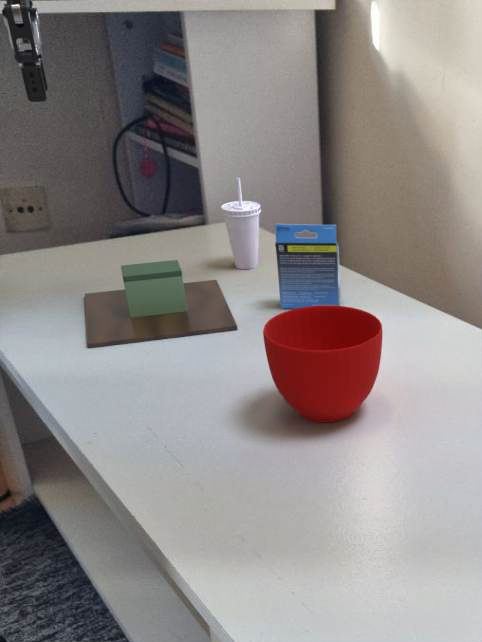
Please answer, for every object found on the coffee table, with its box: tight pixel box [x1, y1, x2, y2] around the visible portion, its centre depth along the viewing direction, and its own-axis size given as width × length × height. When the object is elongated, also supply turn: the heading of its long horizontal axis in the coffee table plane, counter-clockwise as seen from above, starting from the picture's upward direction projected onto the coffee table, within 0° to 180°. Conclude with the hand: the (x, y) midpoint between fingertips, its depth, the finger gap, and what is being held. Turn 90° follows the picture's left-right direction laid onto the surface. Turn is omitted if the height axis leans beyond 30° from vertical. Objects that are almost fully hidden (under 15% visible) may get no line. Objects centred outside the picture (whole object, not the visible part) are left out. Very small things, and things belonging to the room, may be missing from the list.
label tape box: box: [274, 223, 342, 310], centre depth 116 cm, size 9×4×12 cm, turn 89°
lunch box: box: [120, 259, 187, 318], centre depth 115 cm, size 5×8×6 cm, turn 108°
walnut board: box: [84, 279, 239, 349], centre depth 117 cm, size 20×20×1 cm
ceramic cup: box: [262, 305, 383, 423], centre depth 91 cm, size 13×17×10 cm
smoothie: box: [220, 177, 262, 270], centre depth 131 cm, size 6×6×14 cm
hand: (39, 96), depth 103 cm, fingers open, 8 cm apart
